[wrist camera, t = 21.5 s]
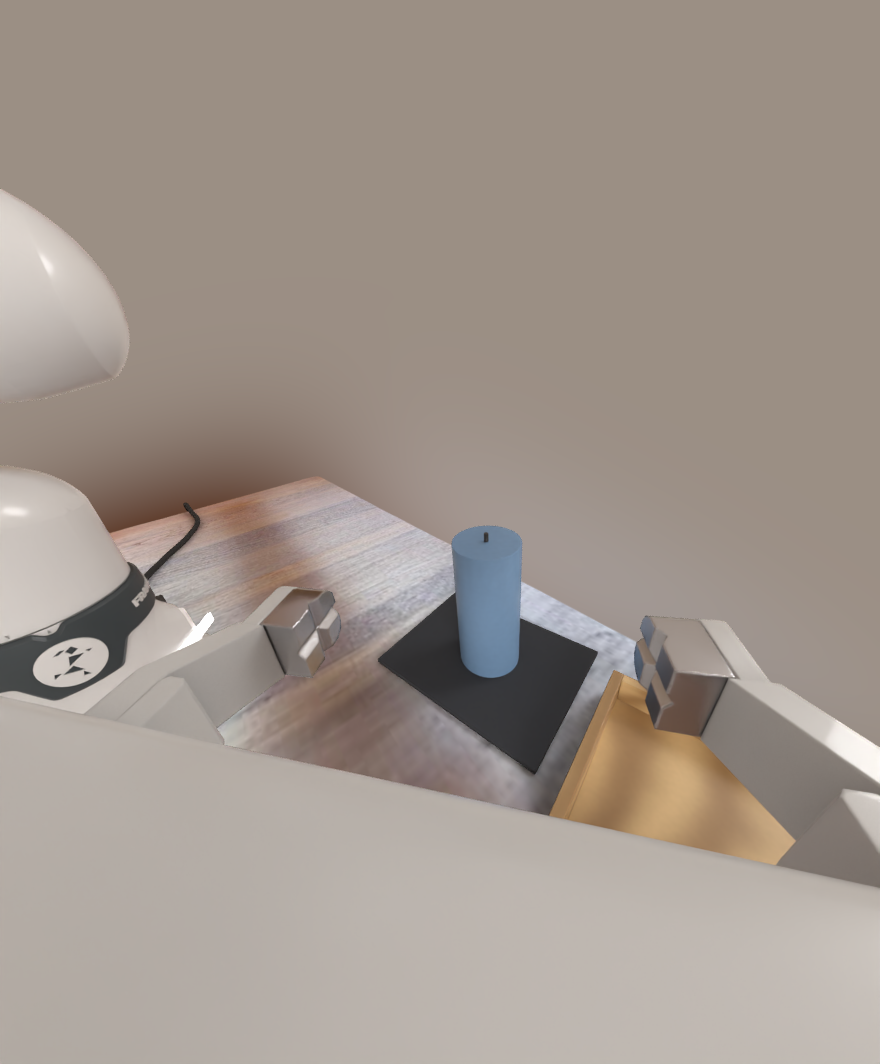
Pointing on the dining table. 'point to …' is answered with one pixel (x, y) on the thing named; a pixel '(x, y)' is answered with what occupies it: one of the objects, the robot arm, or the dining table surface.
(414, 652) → the placemat
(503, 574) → the candle
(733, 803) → the wooden tray
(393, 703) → the dining table surface
